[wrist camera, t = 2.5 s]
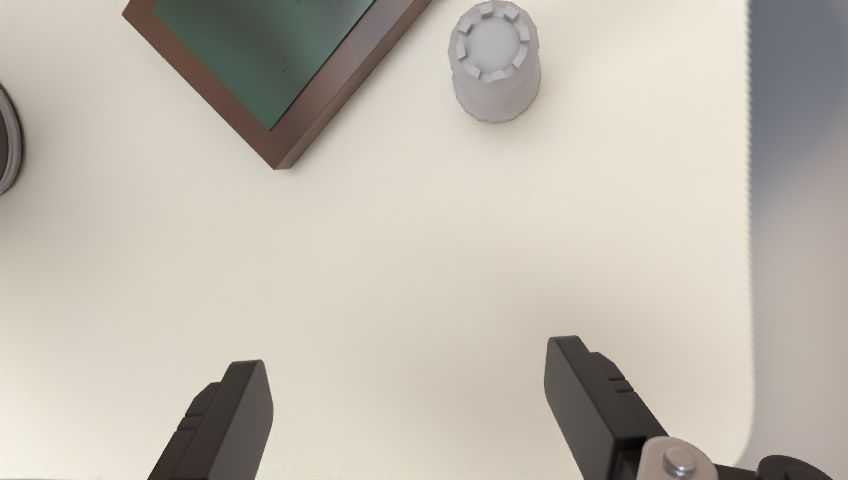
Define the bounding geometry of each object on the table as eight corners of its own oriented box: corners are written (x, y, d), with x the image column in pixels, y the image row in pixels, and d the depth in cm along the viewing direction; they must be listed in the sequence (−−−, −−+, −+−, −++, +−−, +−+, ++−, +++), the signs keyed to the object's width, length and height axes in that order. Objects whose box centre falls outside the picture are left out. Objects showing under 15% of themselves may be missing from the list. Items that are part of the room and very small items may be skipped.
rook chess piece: (436, 82, 23) (402, 48, 15) (497, 14, 22) (493, -62, 14) (495, 141, 23) (490, 136, 15) (558, 77, 22) (589, 36, 14)
